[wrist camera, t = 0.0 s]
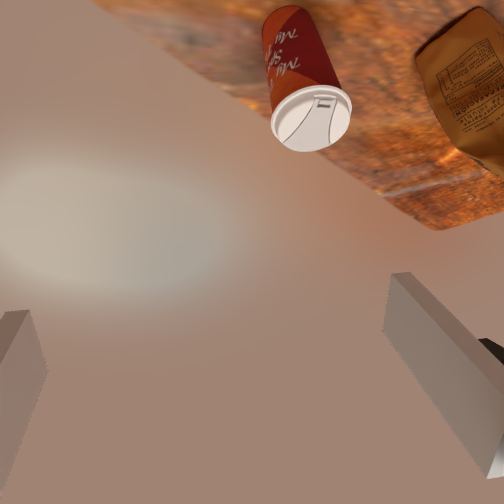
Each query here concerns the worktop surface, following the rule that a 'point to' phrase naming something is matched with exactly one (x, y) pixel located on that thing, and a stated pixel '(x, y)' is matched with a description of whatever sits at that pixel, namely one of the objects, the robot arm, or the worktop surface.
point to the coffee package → (469, 87)
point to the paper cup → (302, 83)
